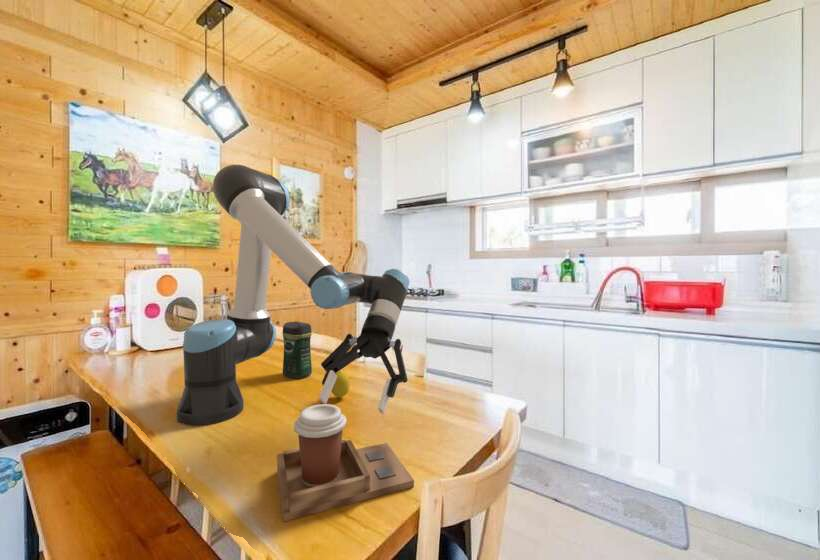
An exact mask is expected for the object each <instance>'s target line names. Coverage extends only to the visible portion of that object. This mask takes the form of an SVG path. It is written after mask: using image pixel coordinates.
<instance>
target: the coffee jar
mask: <svg viewBox="0 0 820 560" xmlns="http://www.w3.org/2000/svg"><path fill="white" fill-rule="evenodd" d="M312 332H313V331H312V325H311V324H310V323H307V322H300V321H289V322H285V323H284V324H283V326H282V338H283V361H282V362H283V363H282V375H283V376H285V377H287V378H291V379H301V378H302V379H303V378H304V379H305V378H307V377H309V376H310V375H312V373H313V371H312V365H313V364H312V356H311V355H312V354H311V337H312V334H313V333H312Z"/></svg>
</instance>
